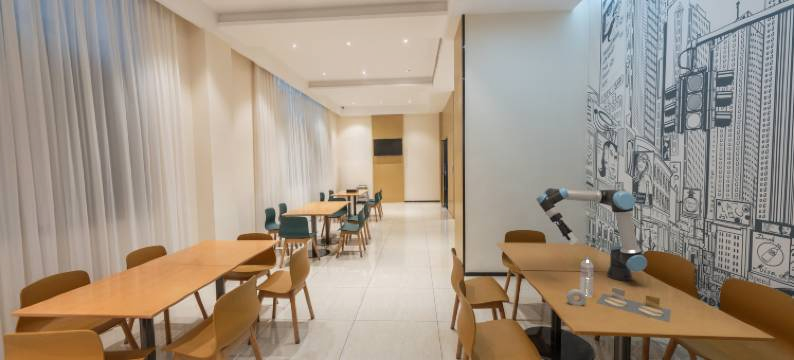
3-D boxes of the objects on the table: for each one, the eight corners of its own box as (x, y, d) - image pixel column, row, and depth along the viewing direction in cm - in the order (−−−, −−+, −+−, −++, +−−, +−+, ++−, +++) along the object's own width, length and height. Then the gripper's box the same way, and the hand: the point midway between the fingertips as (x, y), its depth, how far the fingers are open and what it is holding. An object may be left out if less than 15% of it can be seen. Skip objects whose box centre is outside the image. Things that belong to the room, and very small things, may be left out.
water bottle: (577, 294, 195) (578, 255, 194) (587, 294, 196) (588, 255, 194) (584, 299, 188) (585, 258, 187) (595, 299, 189) (596, 258, 188)
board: (602, 295, 194) (603, 293, 194) (671, 312, 172) (671, 310, 172) (596, 304, 182) (596, 302, 181) (669, 324, 159) (669, 322, 159)
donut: (584, 305, 180) (585, 289, 180) (586, 308, 177) (587, 291, 176) (565, 303, 183) (566, 287, 182) (567, 306, 180) (567, 289, 179)
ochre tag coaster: (640, 303, 181) (640, 293, 180) (665, 309, 173) (665, 299, 173) (636, 311, 170) (637, 301, 170) (663, 318, 163) (663, 307, 163)
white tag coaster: (607, 295, 192) (607, 285, 192) (629, 300, 184) (629, 290, 184) (602, 302, 182) (602, 292, 181) (625, 308, 174) (626, 298, 174)
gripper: (552, 216, 224) (571, 243, 216) (545, 219, 203) (566, 248, 196) (562, 211, 220) (582, 237, 212) (555, 213, 200) (577, 242, 192)
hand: (574, 242), depth 204 cm, fingers open, 13 cm apart
